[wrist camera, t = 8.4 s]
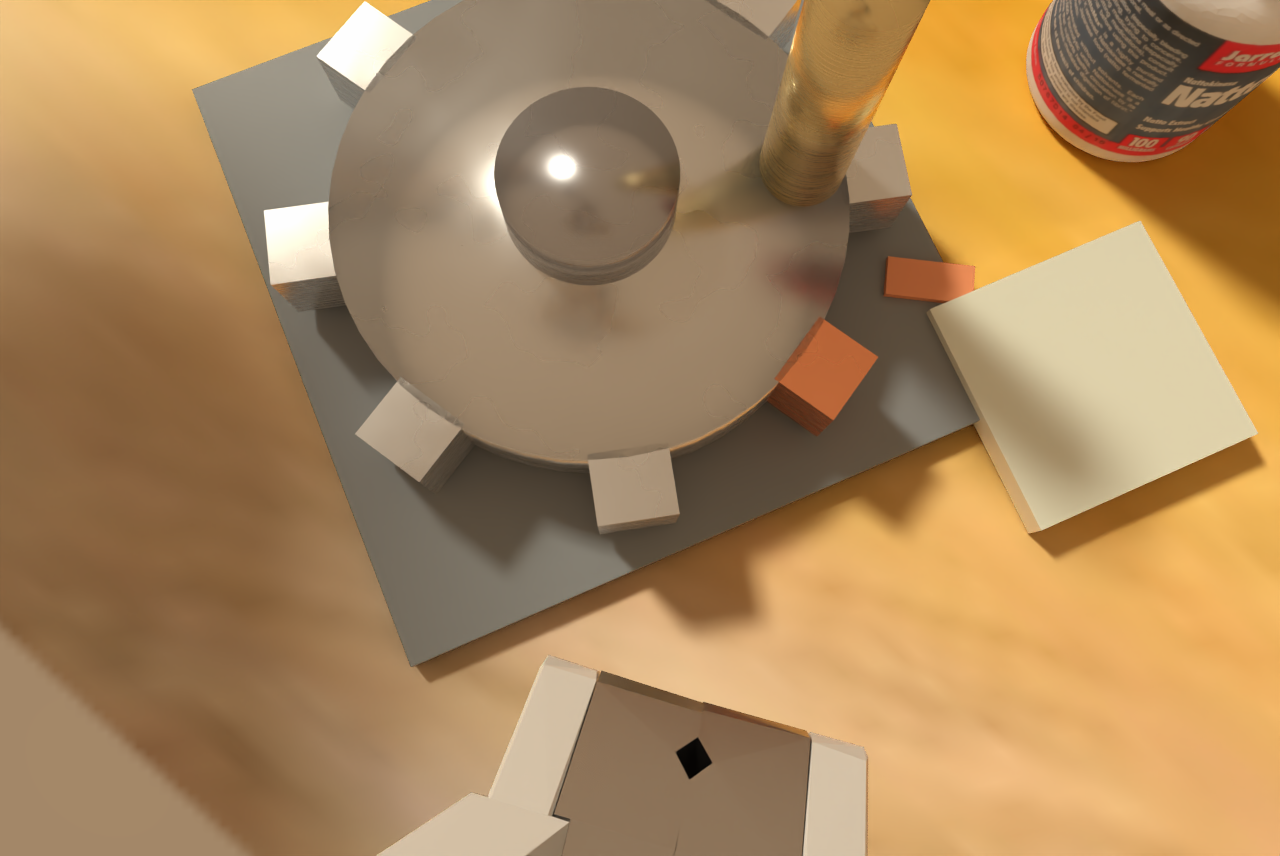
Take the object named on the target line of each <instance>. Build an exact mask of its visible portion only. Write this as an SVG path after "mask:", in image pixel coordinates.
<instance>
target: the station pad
mask: <svg viewBox="0 0 1280 856" xmlns="http://www.w3.org/2000/svg"><path fill="white" fill-rule="evenodd" d="M927 315H928V317H929V319H930V321H931V323H932V325H933V327H934V329H935V331H936V333H937V335H938V337H939V339H940V341H941V343H942V345H943V347H944V349H945V351H946V353H947V355H948V357H949V359H950V361H951V363H952V365H953V367H954V369H955V371H956V373H957V375H958V377H959V379H960V381H961V383H962V385H963V387H964V389H965V391H966V393H967V395H968V397H969V399H970V401H971V403H972V405H973V407H974V409H975V411H976V413H977V415H978V417H979V419H980V420H979V421H978V422H976V423H974V426H975V428H976V430H977V432H978V434H979V436H980V438H981V440H982V442H983V444H984V446H985V448H986V450H987V452H988V454H989V456H990V458H991V460H992V462H993V464H994V466H995V468H996V470H997V472H998V474H999V476H1000V478H1001V480H1002V482H1003V484H1004V486H1005V488H1006V490H1007V492H1008V494H1009V496H1010V498H1011V500H1012V502H1013V504H1014V506H1015V508H1016V510H1017V512H1018V514H1019V516H1020V518H1021V520H1022V522H1023V524H1024V526H1025V528H1026V530H1027V532H1028V533H1033V532H1037V531H1042V530H1044V529H1046V528H1048V527H1050V526H1053V525H1055V524H1057V523H1059V522H1062V521H1064V520H1066V519H1068V518H1071V517H1073V516H1075V515H1077V514H1080V513H1082V512H1084V511H1086V510H1088V509H1091V508H1093V507H1095V506H1097V505H1100V504H1102V503H1104V502H1106V501H1109V500H1111V499H1113V498H1115V497H1118V496H1120V495H1122V494H1124V493H1127V492H1129V491H1131V490H1133V489H1135V488H1138V487H1140V486H1142V485H1144V484H1147V483H1149V482H1151V481H1153V480H1156V479H1158V478H1160V477H1162V476H1165V475H1167V474H1169V473H1171V472H1173V471H1176V470H1178V469H1180V468H1182V467H1185V466H1187V465H1189V464H1191V463H1194V462H1196V461H1198V460H1200V459H1203V458H1205V457H1207V456H1209V455H1211V454H1214V453H1216V452H1218V451H1220V450H1223V449H1225V448H1227V447H1229V446H1232V445H1234V444H1236V443H1238V442H1241V441H1243V440H1245V439H1247V438H1249V437H1252V436H1254V435H1256V434H1258V432H1257V430H1256V429H1255V427H1254V425H1253V423H1252V421H1251V420H1250V418H1249V416H1248V414H1247V412H1246V411H1245V409H1244V407H1243V405H1242V403H1241V402H1240V400H1239V398H1238V396H1237V394H1236V392H1235V391H1234V389H1233V387H1232V385H1231V383H1230V382H1229V380H1228V378H1227V376H1226V374H1225V373H1224V371H1223V369H1222V367H1221V365H1220V364H1219V362H1218V360H1217V358H1216V356H1215V355H1214V353H1213V351H1212V349H1211V347H1210V346H1209V344H1208V342H1207V340H1206V338H1205V337H1204V335H1203V333H1202V331H1201V329H1200V327H1199V326H1198V324H1197V322H1196V320H1195V318H1194V317H1193V315H1192V313H1191V311H1190V309H1189V308H1188V306H1187V304H1186V302H1185V300H1184V299H1183V297H1182V295H1181V293H1180V291H1179V290H1178V288H1177V286H1176V284H1175V282H1174V281H1173V279H1172V277H1171V275H1170V273H1169V271H1168V270H1167V268H1166V266H1165V264H1164V262H1163V261H1162V259H1161V257H1160V255H1159V253H1158V252H1157V250H1156V248H1155V246H1154V244H1153V243H1152V241H1151V239H1150V237H1149V235H1148V234H1147V232H1146V230H1145V228H1144V226H1143V225H1142V223H1141V221H1138V222H1136V223H1134V224H1131V225H1129V226H1126V227H1124V228H1122V229H1119V230H1117V231H1115V232H1112V233H1110V234H1107V235H1105V236H1103V237H1100V238H1098V239H1096V240H1093V241H1091V242H1088V243H1086V244H1084V245H1081V246H1079V247H1077V248H1074V249H1072V250H1069V251H1067V252H1065V253H1062V254H1060V255H1057V256H1055V257H1053V258H1050V259H1048V260H1046V261H1043V262H1041V263H1038V264H1036V265H1034V266H1031V267H1029V268H1027V269H1024V270H1022V271H1019V272H1017V273H1015V274H1012V275H1010V276H1008V277H1005V278H1003V279H1000V280H998V281H996V282H993V283H991V284H989V285H986V286H984V287H981V288H979V289H977V290H974V291H972V292H970V293H967V294H965V295H962V296H960V297H958V298H955V299H953V300H951V301H948V302H946V303H943V304H941V305H939V306H936V307H934V308H932V309H930V310H929V311H928V312H927Z"/></svg>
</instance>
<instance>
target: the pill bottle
mask: <svg viewBox="0 0 1280 856" xmlns="http://www.w3.org/2000/svg"><path fill="white" fill-rule="evenodd" d="M1278 68H1280V0H1053V1H1052V3H1051V4H1050V5H1049V7H1048V8H1047V9H1046V11H1045V12H1044V14H1043V16H1042V18H1041V19H1040V21H1039V22H1038V24H1037V26H1036V28H1035V29H1034V32H1033V34H1032V37H1031V39H1030V43H1029V46H1028V50H1027V59H1026V71H1027V79H1028V85H1029V88H1030V91H1031V95H1032V97H1033V100H1034V102H1035V104H1036V106H1037V108H1038V109H1039V111H1040V113H1041V115H1042V116H1043V117H1044V119H1045V120H1046V121H1047V123H1048V124H1049V125H1050V126H1051V127H1052V128H1053V129H1054V130H1055V131H1056V132H1057V133H1058V134H1059V135H1060V136H1061V137H1062V138H1064V139H1065V140H1066V141H1068V142H1069V143H1071V144H1072V145H1074V146H1075V147H1077V148H1079V149H1081V150H1083V151H1085V152H1087V153H1089V154H1091V155H1094V156H1097V157H1100V158H1104V159H1108V160H1112V161H1120V162H1143V161H1149V160H1154V159H1158V158H1162V157H1165V156H1168V155H1170V154H1172V153H1174V152H1176V151H1178V150H1180V149H1182V148H1184V147H1185V146H1187V145H1188V144H1190V143H1191V142H1192V141H1194V140H1195V139H1196V138H1197V137H1198V136H1200V135H1201V134H1202V133H1204V132H1205V131H1206V130H1208V129H1209V128H1210V127H1211V126H1212V125H1213V124H1214V123H1215V122H1216V121H1218V120H1219V119H1220V118H1221V117H1222V116H1223V115H1225V114H1226V113H1227V112H1228V111H1229V110H1230V109H1232V108H1233V107H1234V106H1235V105H1236V104H1238V103H1239V102H1240V101H1241V100H1242V99H1243V98H1244V97H1246V96H1247V95H1248V94H1249V93H1250V92H1251V91H1253V90H1254V89H1255V88H1256V87H1257V86H1259V85H1260V84H1261V83H1262V82H1263V81H1265V80H1266V79H1267V78H1268V77H1269V76H1271V75H1272V74H1273V73H1274V72H1275V71H1276V70H1277V69H1278Z"/></svg>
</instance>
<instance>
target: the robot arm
mask: <svg viewBox="0 0 1280 856" xmlns="http://www.w3.org/2000/svg"><path fill="white" fill-rule="evenodd" d="M376 856H868V756H867V754H866V751H865V749H864V747H861V746H858V745H854V744H851V743H847V742H844V741H840V740H837V739H833V738H829V737H826V736H822V735H819V734H815V733H812V732H810V733H807V731H805V730H802V729H798V728H795V727H791V726H788V725H784V724H780V723H777V722H773V721H770V720H766V719H763V718H759V717H755V716H752V715H748V714H745V713H741V712H738V711H734V710H730V709H727V708H723V707H720V706H716V705H712V704H709V703H705V702H703V703H701V702H698V701H695V700H692V699H689V698H686V697H683V696H679V695H676V694H673V693H670V692H667V691H664V690H661V689H657V688H654V687H651V686H648V685H645V684H642V683H639V682H635V681H632V680H629V679H626V678H623V677H620V676H617V675H613V674H610V673H607V672H604V671H601V673H600V671H597V670H594V669H591V668H588V667H585V666H582V665H579V664H575V663H572V662H569V661H566V660H563V659H560V658H557V657H553V656H550V655H548V656H547V658H546V659H545V661H544V662H543V664H542V665H541V667H540V669H539V671H538V674H537V676H536V678H535V681H534V683H533V686H532V688H531V691H530V693H529V696H528V698H527V701H526V703H525V706H524V708H523V711H522V713H521V716H520V718H519V720H518V723H517V725H516V728H515V730H514V733H513V735H512V738H511V740H510V743H509V745H508V748H507V750H506V753H505V755H504V757H503V760H502V762H501V765H500V767H499V770H498V772H497V775H496V777H495V780H494V782H493V785H492V787H491V790H490V792H489V795H488V797H487V796H484V795H480V794H476V793H473V792H471V793H470V794H468V795H466V796H465V797H463V798H462V799H460V800H459V801H457V802H456V803H454V804H453V805H451V806H450V807H448V808H447V809H445V810H444V811H442V812H441V813H439V814H438V815H436V816H435V817H433V818H432V819H430V820H429V821H427V822H426V823H424V824H423V825H421V826H420V827H418V828H417V829H415V830H414V831H412V832H411V833H409V834H408V835H406V836H405V837H403V838H402V839H400V840H399V841H397V842H396V843H394V844H393V845H391V846H390V847H388V848H387V849H385V850H384V851H382V852H381V853H379V854H378V855H376Z"/></svg>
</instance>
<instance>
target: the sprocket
mask: <svg viewBox="0 0 1280 856" xmlns="http://www.w3.org/2000/svg"><path fill="white" fill-rule="evenodd" d="M929 2H930V0H804V3H803V6H802V10H801V13H800V17H799V20H798V24H797V27H796V31H795V34H794V38H793V41H792V45H791V48H790V52H789V55H787V54H786V53H785V52H784V51H783V48H784V47H785V46H786V45H787V43H788V42H789V41H790V39H791V36H792V32H793V29H794V25H795V21H796V18H797V14H798V11H799V7H800V4H801V0H463V1H461V2H459V3H458V4H456V5H454V6H453V7H451V8H450V9H448V10H446V11H445V12H443V13H441V14H440V15H438V16H436V17H435V18H433V19H432V20H431V21H430V22H428V23H427V24H426V25H425V26H423V27H422V28H421V29H419V30H418V31H417V32H416V33H414V34H411V33H410V32H408V31H407V30H406V29H404V28H403V27H401V26H400V25H398V24H397V23H395V22H394V21H393V20H391V19H390V18H388V17H387V16H385V15H384V14H382V13H381V12H380V11H378V10H377V9H375V8H374V7H372V6H371V5H369V4H368V3H367V2H365V1H364V3H363V4H362V5H361V6H360V7H359V8H358V9H357V10H356V12H355V13H354V14H353V15H352V16H351V17H350V18H349V20H348V21H347V22H346V23H345V24H344V25H343V26H342V28H341V29H340V30H339V31H338V32H337V33H336V34H335V35H334V37H333V38H332V39H331V40H330V41H329V42H328V43H327V45H326V46H325V47H324V48H323V49H322V50H321V51H320V53H319V54H318V55H317V56H316V57H317V58H318V60H319V62H320V64H321V66H322V68H323V69H324V71H325V73H326V75H327V77H328V79H329V80H330V82H331V84H332V86H333V88H334V90H335V91H336V93H337V95H338V97H339V99H340V100H341V101H343V102H344V103H346V104H347V105H349V106H350V107H351V108H353V109H354V110H353V112H352V114H351V116H350V119H349V121H348V124H347V126H346V129H345V131H344V134H343V136H342V139H341V141H340V144H339V147H338V151H337V155H336V159H335V163H334V167H333V171H332V176H331V185H330V194H329V202H323V203H315V204H308V205H301V206H294V207H286V208H279V209H272V210H264V217H265V228H266V239H267V250H268V262H269V273H270V284H271V286H272V287H273V288H274V289H275V290H277V291H278V292H279V293H280V294H281V295H282V296H283V297H284V298H285V299H286V300H287V301H288V302H289V303H290V304H291V305H292V306H293V307H294V308H295V309H296V310H297V311H299V312H301V311H308V310H315V309H322V308H329V307H336V306H343V305H346V306H347V308H348V310H349V312H350V314H351V316H352V318H353V320H354V322H355V324H356V326H357V328H358V330H359V332H360V334H361V335H362V337H363V338H364V340H365V341H366V343H367V344H368V346H369V347H370V349H371V350H372V352H373V353H374V355H375V356H376V358H377V359H378V360H379V362H380V363H381V364H382V365H383V366H384V367H385V368H386V369H387V370H388V372H389V373H390V374H391V375H392V376H393V377H394V378H395V379H396V381H397V382H396V384H395V385H394V386H393V387H392V389H391V390H390V391H389V392H388V394H387V395H386V396H385V397H384V398H383V400H382V401H381V402H380V403H379V405H378V406H377V407H376V408H375V410H374V411H373V412H372V413H371V415H370V416H369V417H368V418H367V420H366V421H365V422H364V423H363V425H362V426H361V427H360V428H359V430H358V431H357V432H356V433H355V434H356V435H357V436H358V437H360V438H361V439H362V440H364V441H365V442H366V443H368V444H369V445H370V446H372V447H373V448H374V449H376V450H377V451H378V452H380V453H381V454H382V455H384V456H385V457H386V458H388V459H389V460H390V461H392V462H393V463H394V464H396V465H397V466H398V467H400V468H401V469H402V470H404V471H405V472H406V473H408V474H409V475H410V476H412V477H413V478H414V479H416V480H417V481H418V482H420V483H421V484H422V485H424V486H425V487H427V488H428V489H430V490H431V491H433V492H434V493H436V494H437V492H438V491H439V490H440V488H441V487H442V486H443V485H444V483H445V482H446V481H447V479H448V478H449V477H450V476H451V474H452V473H453V472H454V470H455V469H456V468H457V467H458V465H459V464H460V463H461V462H462V460H463V459H464V458H465V456H466V455H467V454H468V453H469V451H470V450H471V449H472V447H473V446H474V445H477V446H479V447H481V448H483V449H485V450H487V451H489V452H492V453H494V454H496V455H498V456H500V457H503V458H507V459H510V460H513V461H516V462H519V463H523V464H526V465H529V466H533V467H539V468H544V469H550V470H556V471H561V472H578V473H590V477H591V484H592V491H593V498H594V505H595V512H596V519H597V525H598V529H599V533H600V534H607V533H613V532H620V531H626V530H633V529H639V528H646V527H653V526H659V525H666V524H672V523H676V521H677V519H678V517H679V514H680V512H679V506H678V500H677V494H676V487H675V481H674V475H673V469H672V463H671V460H672V459H675V458H678V457H681V456H683V455H686V454H689V453H692V452H694V451H696V450H698V449H700V448H702V447H703V446H705V445H707V444H709V443H711V442H713V441H715V440H717V439H719V438H721V437H722V436H724V435H725V434H727V433H728V432H729V431H731V430H732V429H734V428H735V427H737V426H738V425H740V424H741V423H742V422H744V421H745V420H747V419H748V418H749V417H750V416H751V415H752V414H753V413H754V412H755V411H757V410H758V409H759V408H760V407H761V406H762V405H763V404H764V403H765V402H766V401H767V402H768V403H770V404H771V405H772V406H774V407H775V408H777V409H778V410H780V411H781V412H782V413H784V414H785V415H787V416H788V417H789V418H791V419H792V420H794V421H795V422H796V423H798V424H799V425H801V426H802V427H804V428H805V429H806V430H808V431H809V432H811V433H812V434H813V435H815V436H816V437H817V436H818V435H819V434H820V433H821V432H822V431H823V430H824V429H825V428H826V427H827V426H828V425H829V424H830V423H831V422H832V421H833V420H834V419H835V418H836V416H837V415H838V413H839V412H840V411H841V409H842V408H843V406H844V405H845V403H846V402H847V401H848V399H849V398H850V396H851V395H852V394H853V392H854V391H855V389H856V388H857V387H858V385H859V384H860V382H861V381H862V380H863V378H864V377H865V375H866V374H867V372H868V371H869V370H870V368H871V367H872V365H873V364H874V363H875V361H876V360H877V358H878V356H876V355H875V354H873V353H872V352H870V351H869V350H868V349H866V348H865V347H863V346H862V345H860V344H859V343H857V342H856V341H855V340H853V339H852V338H850V337H849V336H847V335H846V334H844V333H843V332H842V331H840V330H839V329H837V328H836V327H834V326H833V325H831V324H830V323H829V322H827V321H826V320H824V319H825V317H826V314H827V312H828V310H829V308H830V305H831V303H832V301H833V299H834V297H835V294H836V291H837V288H838V284H839V281H840V277H841V274H842V270H843V267H844V264H845V257H846V251H847V244H848V237H849V234H852V233H859V232H866V231H873V230H880V229H887V228H890V227H891V226H892V224H893V223H894V221H895V220H896V218H897V217H898V215H899V214H900V212H901V211H902V209H903V208H904V206H905V205H906V203H907V202H908V200H909V199H910V197H911V196H912V192H911V188H910V183H909V179H908V174H907V170H906V165H905V160H904V156H903V151H902V147H901V142H900V138H899V133H898V128H897V124H891V125H884V126H877V127H869V125H870V123H871V121H872V119H873V117H874V115H875V113H876V111H877V109H878V107H879V104H880V102H881V100H882V98H883V96H884V94H885V92H886V90H887V88H888V86H889V84H890V82H891V80H892V78H893V76H894V74H895V72H896V70H897V67H898V65H899V63H900V61H901V59H902V57H903V55H904V53H905V51H906V49H907V47H908V45H909V43H910V41H911V39H912V37H913V35H914V33H915V30H916V28H917V26H918V24H919V22H920V20H921V18H922V16H923V14H924V12H925V10H926V8H927V6H928V4H929ZM868 127H869V128H868Z"/></svg>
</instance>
